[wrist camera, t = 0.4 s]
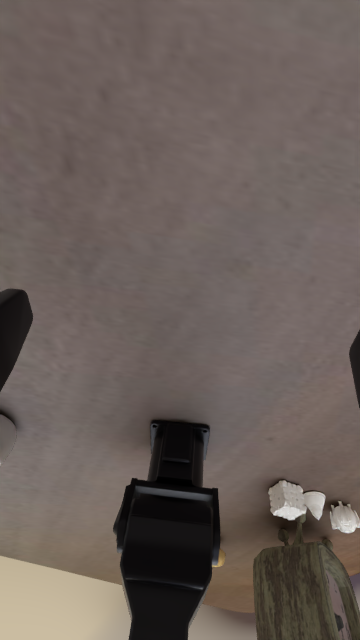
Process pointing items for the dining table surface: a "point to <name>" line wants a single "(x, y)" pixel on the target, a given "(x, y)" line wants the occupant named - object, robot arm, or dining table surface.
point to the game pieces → (309, 506)
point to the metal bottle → (6, 437)
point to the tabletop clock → (303, 592)
